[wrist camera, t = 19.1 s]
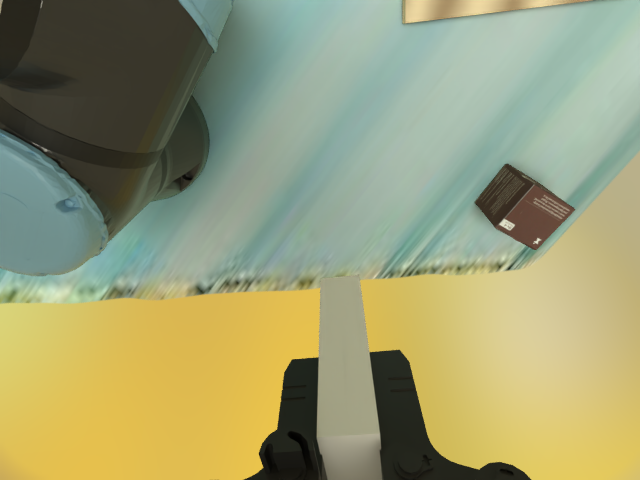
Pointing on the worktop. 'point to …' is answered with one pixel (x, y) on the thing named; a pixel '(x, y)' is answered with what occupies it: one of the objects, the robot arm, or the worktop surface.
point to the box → (522, 207)
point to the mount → (467, 7)
